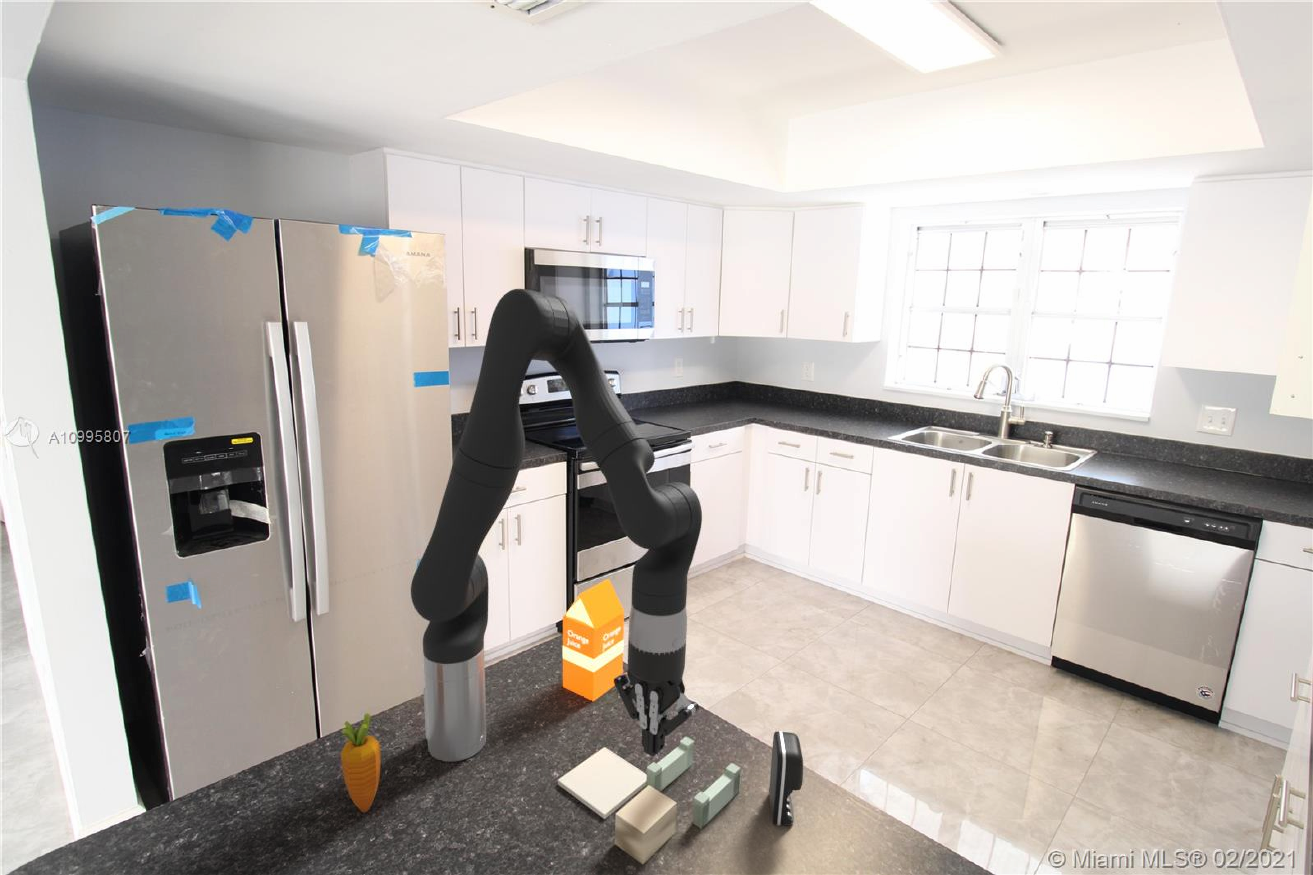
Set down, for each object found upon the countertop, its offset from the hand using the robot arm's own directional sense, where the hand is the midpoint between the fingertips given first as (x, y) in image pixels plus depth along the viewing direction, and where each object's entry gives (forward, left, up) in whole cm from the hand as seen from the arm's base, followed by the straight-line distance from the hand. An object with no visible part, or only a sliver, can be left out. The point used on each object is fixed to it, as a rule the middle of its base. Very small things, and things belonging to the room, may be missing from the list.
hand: (652, 751), depth 90 cm
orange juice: (-31, +19, -13) cm, 39 cm away
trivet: (-11, +2, -13) cm, 17 cm away
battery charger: (+12, +16, -13) cm, 24 cm away
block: (0, -1, -13) cm, 13 cm away
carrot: (-32, -25, -13) cm, 43 cm away
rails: (0, +10, -13) cm, 16 cm away
